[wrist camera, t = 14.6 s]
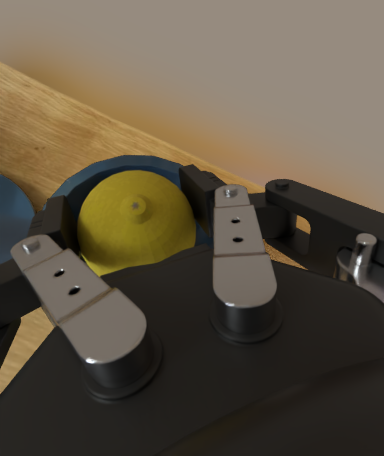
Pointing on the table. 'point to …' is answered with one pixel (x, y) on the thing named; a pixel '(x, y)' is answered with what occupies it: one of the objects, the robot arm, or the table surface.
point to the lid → (13, 216)
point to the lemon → (134, 222)
